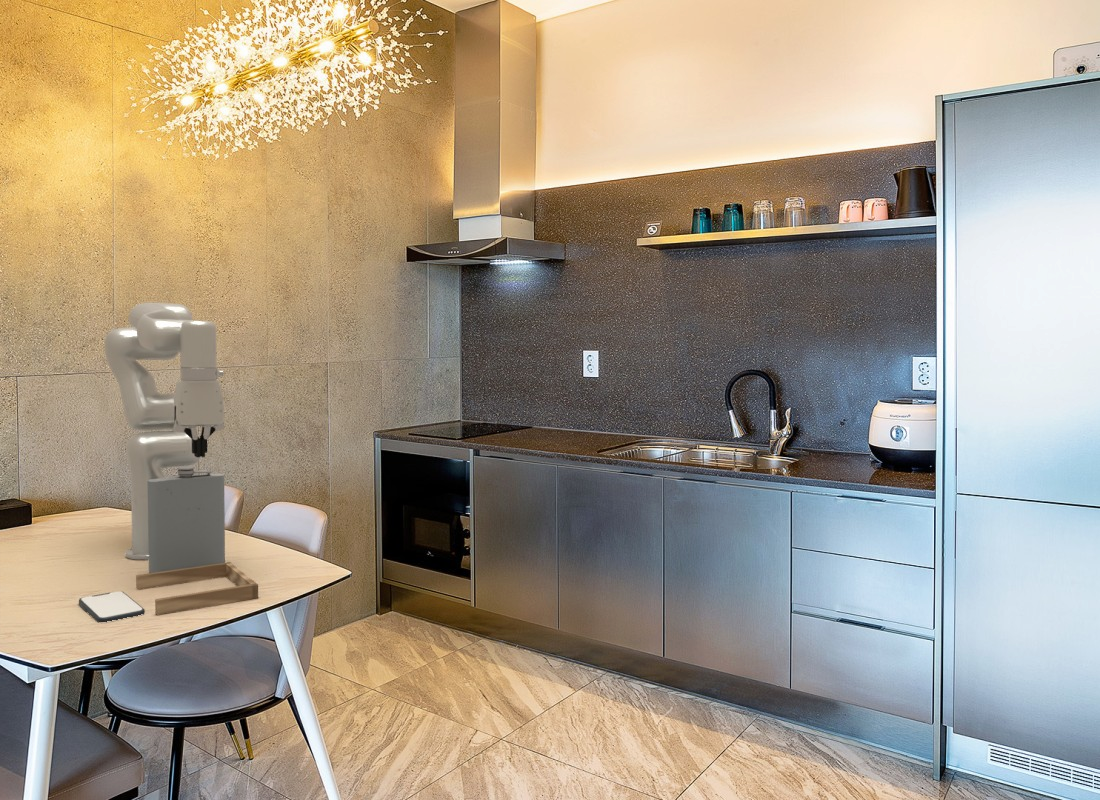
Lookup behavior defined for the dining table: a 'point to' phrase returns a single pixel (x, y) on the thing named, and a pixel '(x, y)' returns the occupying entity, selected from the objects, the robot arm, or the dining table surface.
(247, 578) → the wooden u-shaped frame
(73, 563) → the dining table surface
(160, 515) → the upright grey panel
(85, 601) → the smartphone
